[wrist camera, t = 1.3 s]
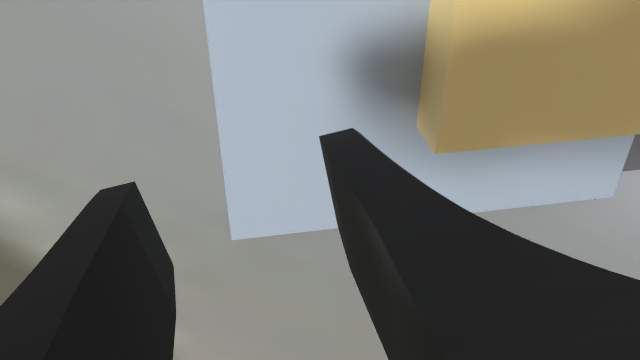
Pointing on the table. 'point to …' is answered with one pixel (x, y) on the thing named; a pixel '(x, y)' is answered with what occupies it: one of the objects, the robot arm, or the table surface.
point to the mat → (633, 155)
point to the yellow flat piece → (529, 72)
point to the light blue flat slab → (358, 115)
